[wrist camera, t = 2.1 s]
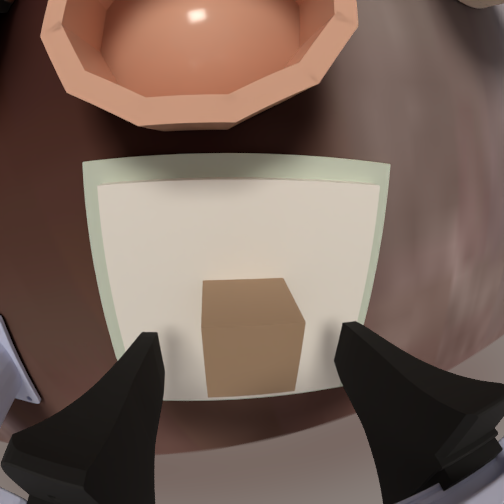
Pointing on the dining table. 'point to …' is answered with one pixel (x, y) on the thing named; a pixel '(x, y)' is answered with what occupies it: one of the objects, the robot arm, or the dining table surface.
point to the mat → (222, 167)
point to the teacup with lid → (481, 3)
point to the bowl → (193, 55)
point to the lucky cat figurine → (5, 5)
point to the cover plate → (239, 277)
